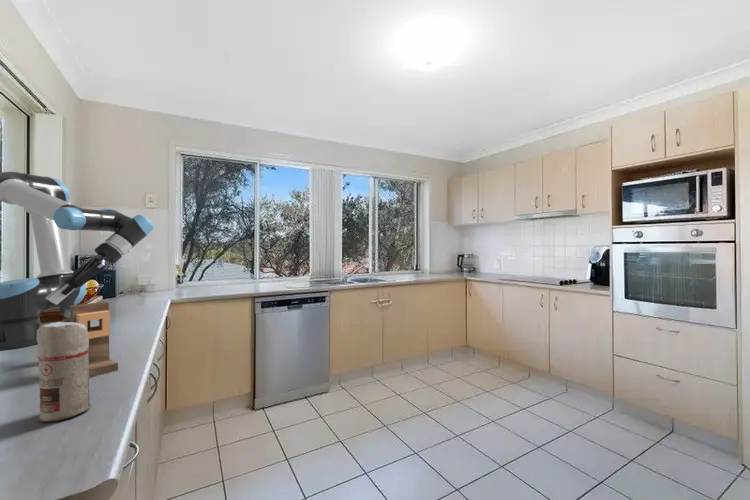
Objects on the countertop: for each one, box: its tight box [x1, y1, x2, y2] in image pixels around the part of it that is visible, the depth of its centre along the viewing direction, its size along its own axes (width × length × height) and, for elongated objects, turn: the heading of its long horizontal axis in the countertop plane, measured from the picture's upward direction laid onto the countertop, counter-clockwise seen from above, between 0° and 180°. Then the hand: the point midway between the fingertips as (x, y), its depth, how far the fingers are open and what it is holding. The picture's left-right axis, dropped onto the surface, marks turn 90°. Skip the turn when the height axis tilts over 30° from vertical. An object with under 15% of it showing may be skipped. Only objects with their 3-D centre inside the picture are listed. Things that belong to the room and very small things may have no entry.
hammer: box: [59, 275, 99, 327], centre depth 103 cm, size 28×3×13 cm, turn 56°
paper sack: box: [37, 321, 91, 422], centre depth 72 cm, size 8×8×20 cm
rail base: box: [61, 301, 119, 379], centre depth 101 cm, size 30×8×19 cm, turn 56°
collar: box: [76, 310, 111, 339], centre depth 96 cm, size 2×7×7 cm, turn 146°
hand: (50, 301), depth 107 cm, fingers closed on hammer, 3 cm apart
